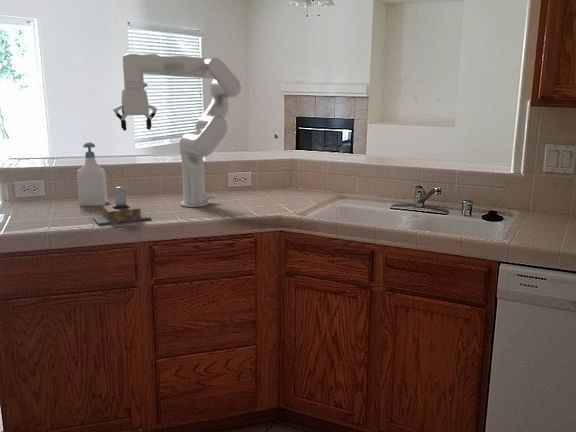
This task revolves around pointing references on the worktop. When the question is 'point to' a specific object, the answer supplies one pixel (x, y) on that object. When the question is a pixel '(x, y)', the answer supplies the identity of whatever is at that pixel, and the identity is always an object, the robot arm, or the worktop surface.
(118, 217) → the docking mount
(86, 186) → the soap bottle
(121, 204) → the grey metallic cylinder
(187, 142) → the robot arm
